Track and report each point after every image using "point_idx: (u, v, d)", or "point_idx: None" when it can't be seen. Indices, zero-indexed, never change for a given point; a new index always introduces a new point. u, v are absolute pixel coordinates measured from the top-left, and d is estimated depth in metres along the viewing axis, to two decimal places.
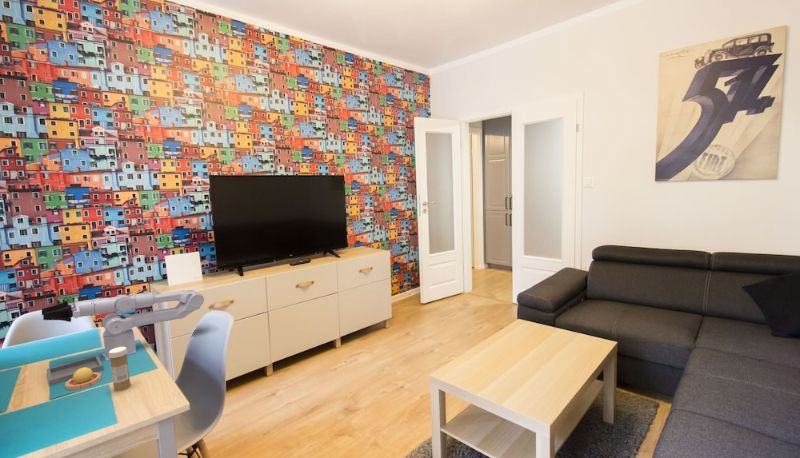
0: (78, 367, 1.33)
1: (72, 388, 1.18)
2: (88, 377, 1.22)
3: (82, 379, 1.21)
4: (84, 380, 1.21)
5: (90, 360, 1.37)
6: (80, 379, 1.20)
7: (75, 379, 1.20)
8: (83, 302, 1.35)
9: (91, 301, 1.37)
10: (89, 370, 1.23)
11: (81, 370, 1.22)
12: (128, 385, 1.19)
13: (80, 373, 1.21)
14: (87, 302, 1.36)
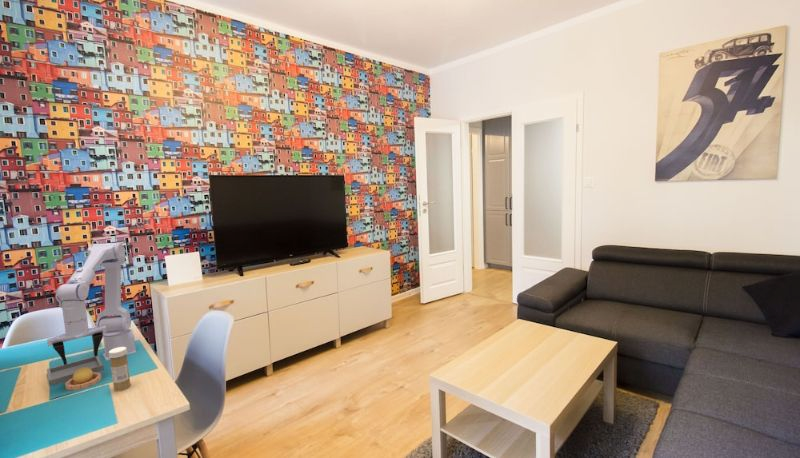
0: (78, 367, 1.33)
1: (72, 388, 1.18)
2: (88, 377, 1.22)
3: (82, 379, 1.21)
4: (84, 380, 1.21)
5: (90, 360, 1.37)
6: (80, 379, 1.20)
7: (75, 379, 1.20)
8: (82, 328, 1.20)
9: (81, 322, 1.20)
10: (89, 370, 1.23)
11: (81, 370, 1.22)
12: (128, 385, 1.19)
13: (80, 373, 1.21)
14: (83, 325, 1.20)
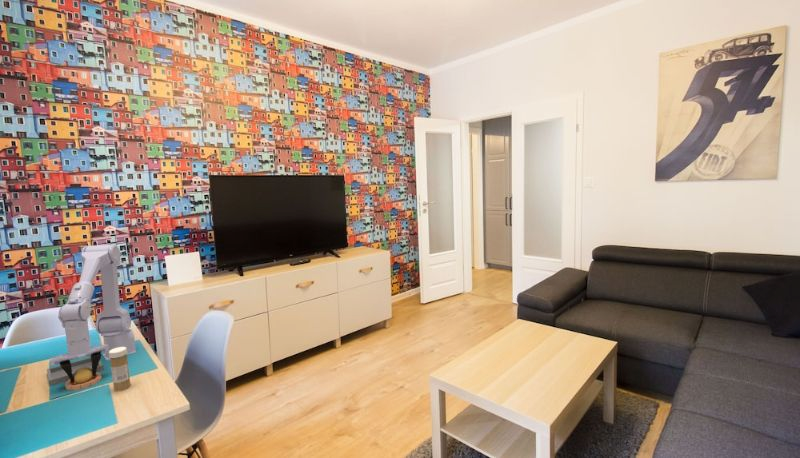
0: (78, 367, 1.33)
1: (72, 388, 1.18)
2: (88, 377, 1.22)
3: (82, 379, 1.21)
4: (84, 380, 1.21)
5: (90, 360, 1.37)
6: (80, 379, 1.20)
7: (75, 379, 1.20)
8: (84, 348, 1.21)
9: (84, 341, 1.20)
10: (89, 370, 1.23)
11: (81, 370, 1.22)
12: (128, 385, 1.19)
13: (80, 373, 1.21)
14: (85, 344, 1.21)
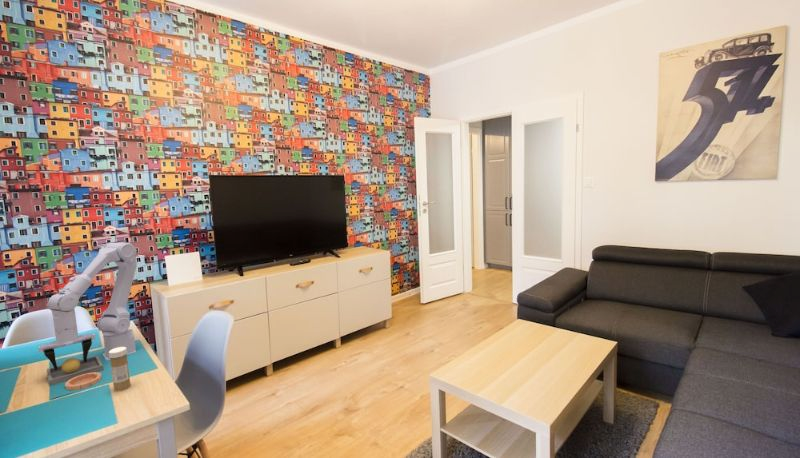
0: None
1: (72, 388, 1.18)
2: (76, 367, 1.29)
3: (70, 369, 1.28)
4: (72, 370, 1.28)
5: (90, 360, 1.37)
6: (68, 369, 1.27)
7: (63, 369, 1.27)
8: (72, 336, 1.27)
9: (71, 330, 1.27)
10: (77, 360, 1.30)
11: (69, 360, 1.28)
12: (128, 385, 1.19)
13: (68, 363, 1.28)
14: (72, 332, 1.28)
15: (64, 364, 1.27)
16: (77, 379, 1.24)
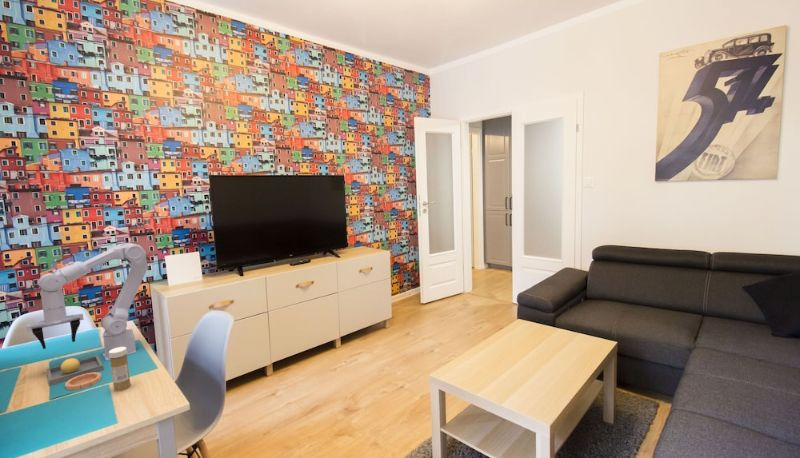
0: None
1: (72, 388, 1.18)
2: (75, 367, 1.29)
3: (70, 369, 1.27)
4: (72, 370, 1.28)
5: (90, 360, 1.37)
6: (67, 369, 1.27)
7: (63, 369, 1.27)
8: (60, 315, 1.29)
9: (59, 309, 1.29)
10: (76, 360, 1.30)
11: (68, 361, 1.28)
12: (128, 385, 1.19)
13: (67, 363, 1.27)
14: (61, 312, 1.30)
15: (63, 365, 1.27)
16: (77, 379, 1.24)
